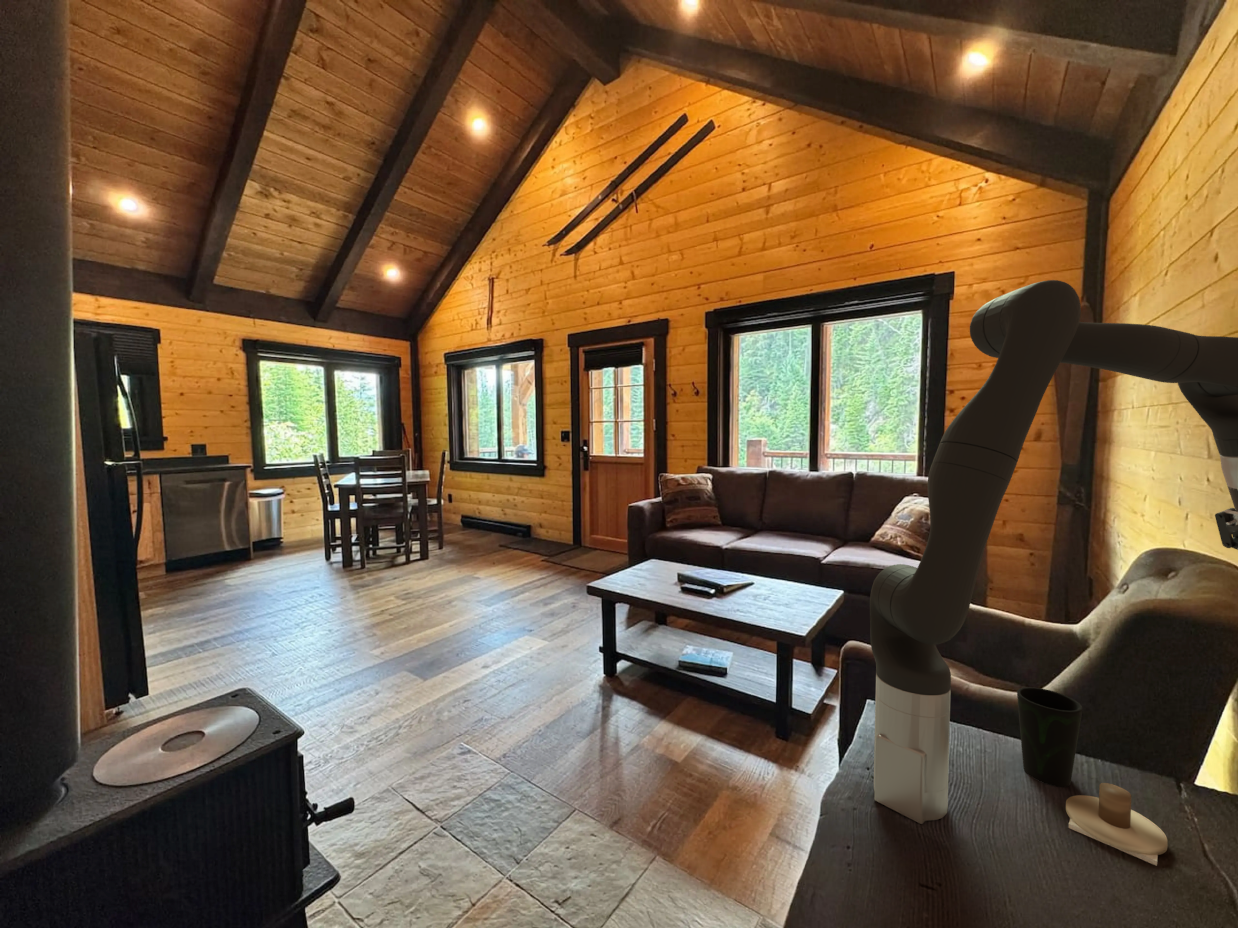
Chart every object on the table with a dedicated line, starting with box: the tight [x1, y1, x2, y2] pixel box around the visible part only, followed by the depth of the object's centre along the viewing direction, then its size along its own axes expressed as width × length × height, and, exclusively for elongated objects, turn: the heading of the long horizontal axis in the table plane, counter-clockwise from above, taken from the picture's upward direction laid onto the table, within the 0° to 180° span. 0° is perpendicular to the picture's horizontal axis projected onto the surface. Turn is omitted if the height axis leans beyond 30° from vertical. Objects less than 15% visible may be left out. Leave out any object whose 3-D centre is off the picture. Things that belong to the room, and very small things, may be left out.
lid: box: [1065, 782, 1168, 856], centre depth 66 cm, size 10×10×5 cm
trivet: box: [1068, 817, 1159, 867], centre depth 66 cm, size 8×8×1 cm
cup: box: [1016, 686, 1084, 788], centre depth 77 cm, size 8×8×12 cm
